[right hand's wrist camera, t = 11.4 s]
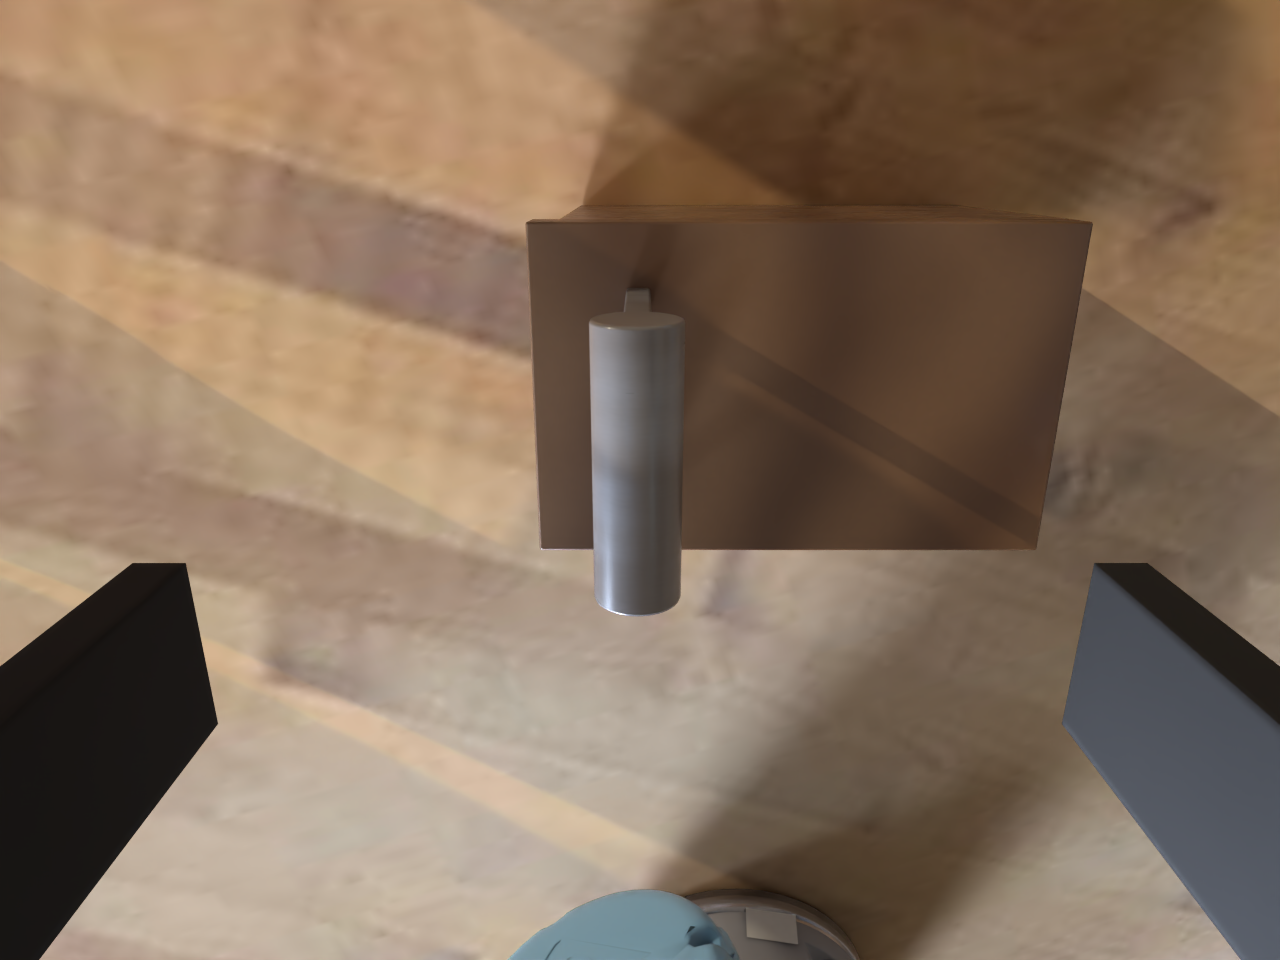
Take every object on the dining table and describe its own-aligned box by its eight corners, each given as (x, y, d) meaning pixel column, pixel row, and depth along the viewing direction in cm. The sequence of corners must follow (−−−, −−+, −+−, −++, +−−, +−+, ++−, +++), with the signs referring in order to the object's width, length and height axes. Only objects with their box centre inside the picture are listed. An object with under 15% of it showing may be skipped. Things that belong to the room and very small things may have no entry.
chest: (585, 446, 38) (567, 534, 29) (580, 205, 35) (557, 219, 26) (928, 446, 38) (1019, 534, 29) (958, 205, 35) (1071, 219, 26)
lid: (544, 534, 29) (505, 678, 21) (530, 219, 26) (478, 243, 17) (1020, 535, 29) (1169, 679, 21) (1072, 219, 26) (1276, 243, 17)
